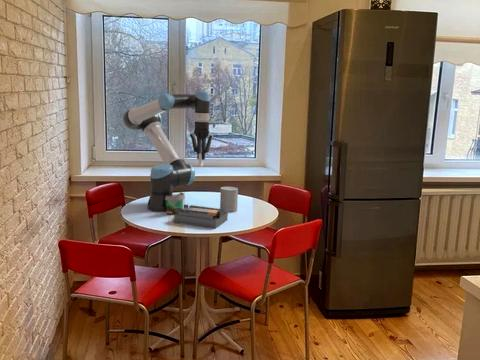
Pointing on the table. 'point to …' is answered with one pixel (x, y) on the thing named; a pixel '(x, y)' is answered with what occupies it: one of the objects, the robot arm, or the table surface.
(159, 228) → the table surface
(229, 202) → the concrete plant pot
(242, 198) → the table surface
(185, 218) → the grey metal tray
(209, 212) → the beige and orange bar
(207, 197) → the table surface
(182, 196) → the food container
